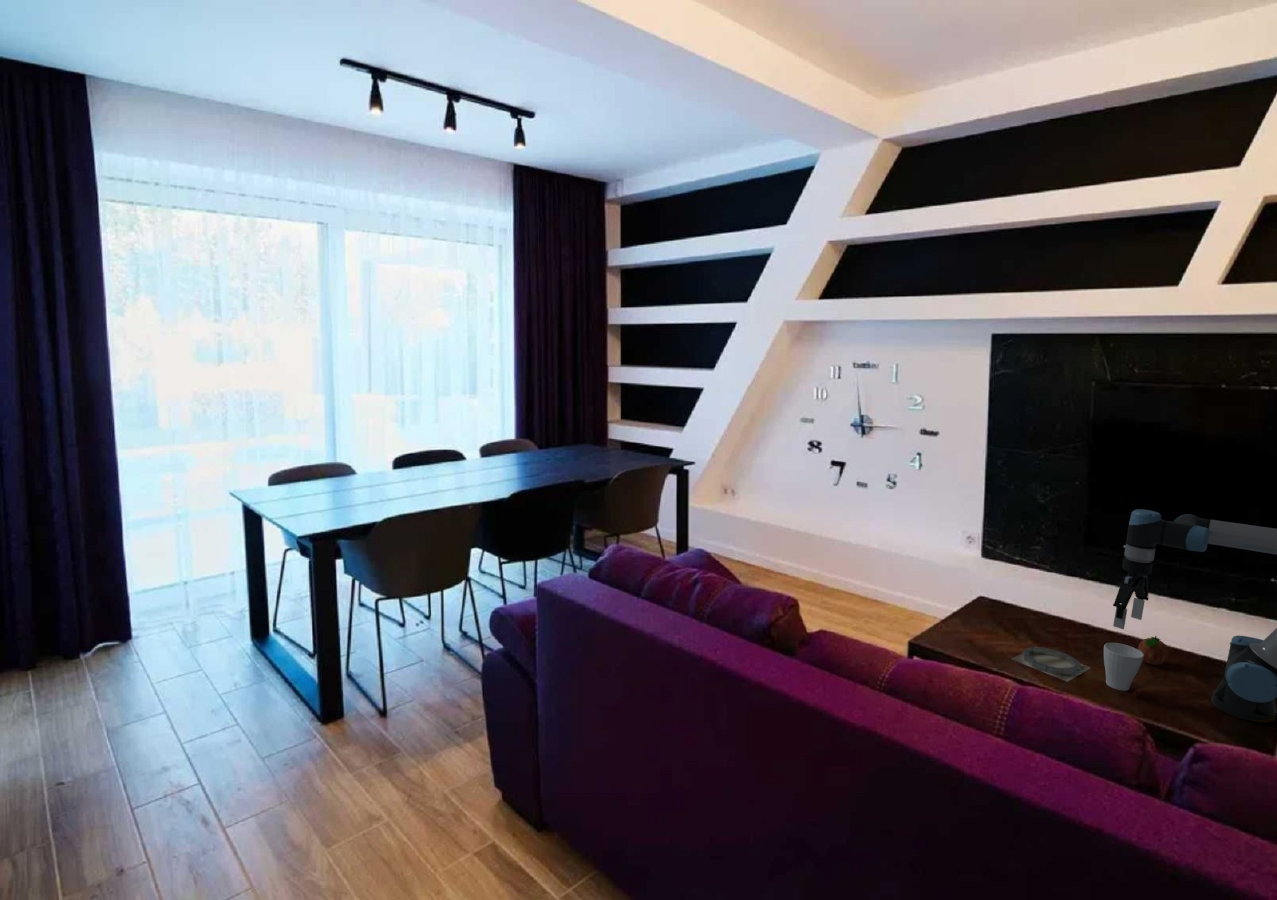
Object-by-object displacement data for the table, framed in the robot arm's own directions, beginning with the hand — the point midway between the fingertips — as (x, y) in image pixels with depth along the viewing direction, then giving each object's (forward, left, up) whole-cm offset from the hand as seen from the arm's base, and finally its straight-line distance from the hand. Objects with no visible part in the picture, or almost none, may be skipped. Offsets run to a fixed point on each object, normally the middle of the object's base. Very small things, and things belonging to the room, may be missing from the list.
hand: (1127, 622), depth 219 cm
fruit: (+1, -32, -23) cm, 39 cm away
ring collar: (+19, +3, -21) cm, 28 cm away
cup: (0, 0, -23) cm, 23 cm away
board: (+19, +3, -23) cm, 29 cm away
